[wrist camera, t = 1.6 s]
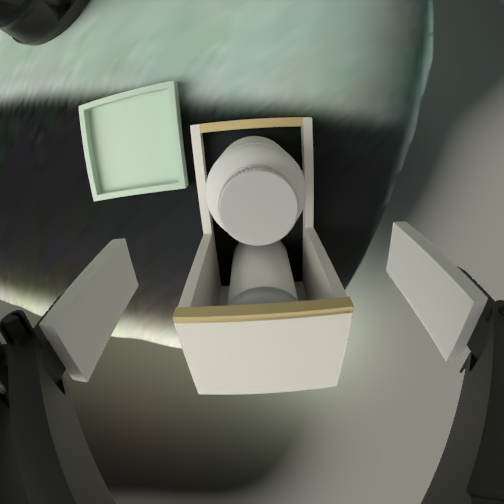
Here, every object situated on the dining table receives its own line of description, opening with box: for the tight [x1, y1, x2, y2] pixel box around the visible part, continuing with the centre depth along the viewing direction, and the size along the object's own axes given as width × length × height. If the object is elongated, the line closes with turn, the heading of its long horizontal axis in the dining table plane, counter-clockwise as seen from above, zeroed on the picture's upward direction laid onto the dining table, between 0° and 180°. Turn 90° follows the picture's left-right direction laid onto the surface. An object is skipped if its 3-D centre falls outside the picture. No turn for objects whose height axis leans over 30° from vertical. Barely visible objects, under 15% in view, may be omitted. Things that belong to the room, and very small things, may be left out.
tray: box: [79, 81, 189, 201], centre depth 29 cm, size 12×12×2 cm
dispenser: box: [173, 117, 354, 394], centre depth 26 cm, size 22×13×17 cm, turn 4°
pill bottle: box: [205, 136, 306, 246], centre depth 25 cm, size 8×8×15 cm
